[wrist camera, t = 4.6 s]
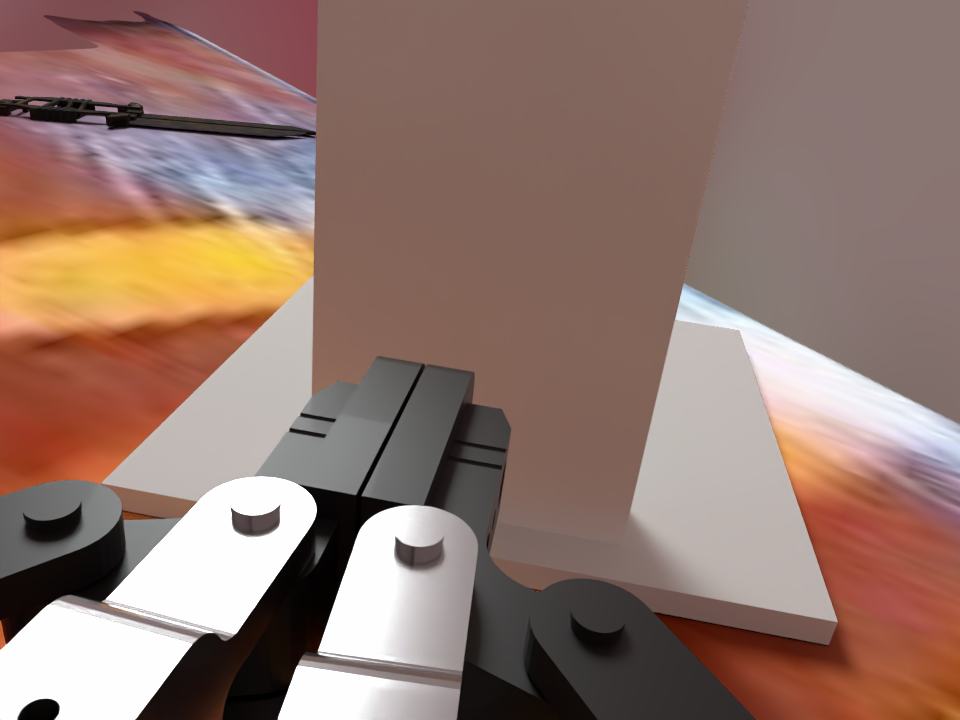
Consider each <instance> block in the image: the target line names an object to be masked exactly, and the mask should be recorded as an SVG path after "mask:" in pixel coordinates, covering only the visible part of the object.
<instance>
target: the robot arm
mask: <svg viewBox="0 0 960 720" xmlns="http://www.w3.org/2000/svg"><path fill="white" fill-rule="evenodd" d="M474 382H475V373H474V372H472V371H466V370H460V369H454V368H448V367H442V366H436V365H430V364H427V365H426V366H425V364H423V363H417V362H412V361H406V360H400V359H394V358H388V357H382V356H377V357H376V359H375V360H374V362H373V363H372V365H371V366H370V368H369V369H368V371H367V373H366V374H365V376H364V377H363V379H362V380H361V382H360V384H354V383H348V382H342V381H337V382H336V383H334V384H332V385H330V386H328V387H326V388H325V389H323V390H321V391H319V392H317V393H316V394H314V395H313V396H312V398H311V399H310V400H309V402H308V403H307V404H306V406H305V407H304V409H303V410H302V411H301V413H300V417H299V416H298V417H297V418H296V420H295V421H294V422H293V424H292V425H291V426H290V428H289V432H286V433H285V435H284V436H283V437H282V439H281V440H280V442H279V443H278V444H277V446H276V447H275V448H274V450H273V451H272V453H271V454H270V455H269V457H268V458H267V459H266V461H265V462H264V463H263V465H262V466H261V468H260V469H259V470H258V472H257V473H256V474H255V476H254V477H251V478H243V479H239V480H234V481H231V482H228V483H225V484H223V485H221V486H218V487H216V488H215V489H213V490H211V491H210V492H208V493H207V494H206V495H205V496H204V497H203V498H202V499H201V500H200V501H199V502H198V503H197V504H196V505H195V506H194V507H193V508H192V509H191V510H190V511H189V512H188V513H187V514H186V516H185V517H184V518H172V519H144V520H123V512H122V505H121V501H120V499H119V497H118V495H117V494H115V493H114V492H113V491H112V490H111V489H109V488H107V487H106V486H103V485H100V484H98V483H93V482H89V481H80V480H64V481H54V482H49V483H44V484H40V485H36V486H32V487H29V488H26V489H23V490H19V491H16V492H13V493H10V494H6V495H3V496H0V620H1V623H2V627H3V632H4V637H5V642H6V646H5V647H4V648H3V649H2V650H1V651H0V720H756V719H755V718H754V717H753V716H752V715H751V714H750V713H749V712H748V711H747V710H746V709H745V708H744V707H743V705H742V704H741V703H740V702H739V701H738V700H737V699H736V698H735V697H734V696H733V695H732V694H731V693H730V692H729V691H728V690H727V689H726V688H725V687H724V686H723V685H722V684H721V683H720V681H719V680H718V679H717V678H716V677H715V676H714V675H713V674H712V673H711V672H710V671H709V670H708V669H707V668H706V667H705V666H704V665H703V664H702V663H701V662H700V661H699V660H698V659H697V657H696V656H695V655H694V654H693V653H692V652H691V651H690V650H689V649H688V648H687V647H686V646H685V645H684V644H683V643H682V642H681V641H680V640H679V639H678V638H677V637H676V636H675V635H674V633H673V632H672V631H671V630H670V629H669V628H668V627H667V626H666V625H665V624H664V623H663V622H662V621H661V620H660V619H659V618H658V617H657V616H656V615H655V614H654V613H653V612H652V611H651V609H650V608H649V607H648V606H647V605H646V604H644V603H643V602H642V601H641V600H640V599H639V598H637V597H636V596H635V595H633V594H632V593H630V592H628V591H626V590H625V589H623V588H621V587H618V586H616V585H613V584H611V583H608V582H604V581H600V580H594V579H584V578H576V579H567V580H563V581H559V582H556V583H554V584H551V585H549V586H548V587H546V588H545V589H543V590H542V591H541V592H540V593H538V592H536V591H534V590H532V589H529V588H527V587H525V586H523V585H521V584H520V583H518V582H516V581H514V580H513V579H511V578H510V577H508V576H507V575H506V574H505V573H504V572H503V571H501V570H500V569H499V568H498V566H497V565H496V564H495V563H494V562H493V560H492V558H491V556H490V555H489V554H490V550H491V546H492V542H493V537H494V533H495V528H496V524H497V519H498V515H499V510H500V503H501V497H502V490H503V483H504V476H505V469H506V462H507V456H508V449H509V442H510V435H511V427H510V425H509V423H508V421H507V419H506V416H505V414H504V412H503V410H502V409H500V408H494V407H488V406H482V405H477V404H472V400H473V392H474Z"/></svg>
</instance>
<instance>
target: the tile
mask: <svg viewBox="0 0 960 720" xmlns="http://www.w3.org/2000/svg"><path fill="white" fill-rule="evenodd" d="M748 4H749V0H318V49H317V50H318V53H317V109H316V168H315V228H314V288H313V347H312V396H313V395H314V394H316V393H317V392H319V391H321V390H323V389H325V388H326V387H328V386H330V385H332V384H334V383H336V382H337V381H342V382H348V383H354V384H360V382H361V380H362V379H363V377H364V376H365V374H366V373H367V371H368V369H369V368H370V366H371V365H372V363H373V362H374V360H375V359H376V357H377V356H382V357H388V358H394V359H400V360H406V361H412V362H417V363H423V364H425V366H426V365H427V364H430V365H436V366H442V367H448V368H454V369H460V370H466V371H472V372H474V373H475V382H474V392H473V400H472V404H477V405H482V406H488V407H494V408H500V409H502V410H503V412H504V414H505V416H506V419H507V421H508V423H509V425H510V427H511V435H510V442H509V449H508V456H507V462H506V469H505V476H504V483H503V490H502V497H501V503H500V510H499V515H498V519H497V522H498V523H503V524H508V525H514V526H519V527H525V528H530V529H536V530H541V531H546V532H552V533H557V534H563V535H568V536H574V537H579V538H584V539H590V540H595V541H601V542H606V543H612V544H617V545H622V544H623V540H624V536H625V532H626V527H627V523H628V519H629V514H630V510H631V506H632V502H633V497H634V493H635V489H636V484H637V480H638V476H639V472H640V467H641V463H642V459H643V454H644V450H645V446H646V442H647V437H648V433H649V429H650V424H651V420H652V416H653V412H654V407H655V403H656V399H657V394H658V390H659V386H660V382H661V377H662V373H663V369H664V364H665V360H666V356H667V352H668V347H669V343H670V339H671V334H672V330H673V326H674V322H675V317H676V313H677V309H678V304H679V300H680V296H681V292H682V287H683V283H684V278H685V274H686V270H687V266H688V262H689V257H690V252H691V249H692V244H693V240H694V236H695V231H696V227H697V222H698V219H699V214H700V210H701V206H702V202H703V197H704V192H705V189H706V184H707V180H708V176H709V172H710V167H711V163H712V159H713V154H714V150H715V146H716V141H717V137H718V133H719V129H720V124H721V120H722V116H723V111H724V107H725V103H726V99H727V94H728V90H729V85H730V81H731V77H732V73H733V69H734V64H735V60H736V56H737V51H738V47H739V43H740V39H741V34H742V30H743V26H744V22H745V17H746V13H747V9H748Z"/></svg>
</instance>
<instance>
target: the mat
mask: <svg viewBox="0 0 960 720" xmlns="http://www.w3.org/2000/svg"><path fill="white" fill-rule="evenodd" d="M313 288H314V275H313V276H312V277H311V278H310V279H309V280H308V281H307V282H306V283H305V284H304V285H303V286H302V287H301V288H300V289H299V290H298V291H297V292H296V293H295V294H294V295H293V296H292V297H291V298H290V299H289V300H288V301H287V302H286V303H285V304H284V305H283V306H281V307H280V308H279V309H278V310H277V311H276V312H275V313H274V314H273V315H272V316H271V317H270V318H269V319H268V320H267V321H266V322H265V323H264V324H263V325H262V326H261V327H260V328H259V329H258V330H257V331H256V332H255V333H254V334H253V335H252V336H251V337H250V338H249V339H248V340H247V341H246V342H245V343H244V344H243V345H242V346H241V347H240V348H239V349H238V350H237V351H236V352H235V353H233V354H232V355H231V356H230V357H229V358H228V359H227V360H226V361H225V362H224V363H223V364H222V365H221V366H220V367H219V368H218V369H217V370H216V371H215V372H214V373H213V374H212V375H211V376H210V377H209V378H208V379H207V380H206V381H205V382H204V383H203V384H202V385H201V386H200V387H199V388H198V389H197V390H196V391H195V392H194V393H193V394H192V395H191V396H190V397H189V398H188V399H187V400H185V401H184V402H183V403H182V404H181V405H180V406H179V407H178V408H177V409H176V410H175V411H174V412H173V413H172V414H171V415H170V416H169V417H168V418H167V419H166V420H165V421H164V422H163V423H162V424H161V425H160V426H159V427H158V428H157V429H156V430H155V431H154V432H153V433H152V434H151V435H150V436H149V437H148V438H147V439H146V440H145V441H144V442H143V443H142V444H141V445H140V446H139V447H137V448H136V449H135V450H134V451H133V452H132V453H131V454H130V455H129V456H128V457H127V458H126V459H125V460H124V461H123V462H122V463H121V464H120V465H119V466H118V467H117V468H116V469H115V470H114V471H113V472H112V473H111V474H110V475H109V476H108V477H107V478H106V479H105V480H104V481H103V482H102V483H101V485H103V486H106V487H107V488H109V489H111V490H112V491H113V492H114V493H115V494H117V495H118V497H119V499H120V501H121V505H122V510H124V511H129V512H134V513H140V514H145V515H150V516H155V517H160V518H166V519H172V518H184V517H185V516H186V514H187V513H188V512H189V511H190V510H191V509H192V508H193V507H194V506H195V505H196V504H197V503H198V502H199V501H200V500H201V499H202V498H203V497H204V496H205V495H206V494H207V493H208V492H210V491H211V490H213V489H215V488H216V487H218V486H221V485H223V484H225V483H228V482H231V481H234V480H239V479H243V478H251V477H254V476H255V474H256V473H257V472H258V470H259V469H260V468H261V466H262V465H263V463H264V462H265V461H266V459H267V458H268V457H269V455H270V454H271V453H272V451H273V450H274V448H275V447H276V446H277V444H278V443H279V442H280V440H281V439H282V437H283V436H284V435H285V433H286V432H289V428H290V426H291V425H292V424H293V422H294V421H295V420H296V418H297V417H298V416H299V417H300V413H301V411H302V410H303V409H304V407H305V406H306V404H307V403H308V402H309V400H310V399H311V398H312V347H313ZM489 555H490V556H491V558H492V560H493V562H494V563H495V564H496V565H497V566H498V568H499V569H500V570H501V571H503V572H504V573H505V574H506V575H507V576H508V577H510V578H511V579H513V580H514V581H516V582H518V583H520V584H521V585H523V586H525V587H527V588H532V589H537V590H543V589H545V588H546V587H548V586H549V585H551V584H554V583H556V582H559V581H563V580H567V579H576V578H584V579H594V580H600V581H604V582H608V583H611V584H613V585H616V586H618V587H621V588H623V589H625V590H626V591H628V592H630V593H632V594H633V595H635V596H636V597H637V598H639V599H640V600H641V601H642V602H643V603H644V604H646V605H647V606H648V607H649V608H650V609H651V611H652V612H657V613H662V614H668V615H673V616H678V617H683V618H689V619H694V620H699V621H704V622H710V623H715V624H720V625H725V626H730V627H736V628H741V629H746V630H751V631H757V632H762V633H767V634H772V635H778V636H783V637H788V638H793V639H798V640H804V641H809V642H814V643H819V644H825V645H829V643H830V640H831V638H832V635H833V633H834V630H835V628H836V626H837V623H838V621H837V618H836V615H835V612H834V609H833V606H832V603H831V600H830V597H829V594H828V592H827V589H826V586H825V583H824V580H823V577H822V574H821V571H820V568H819V565H818V562H817V559H816V556H815V553H814V550H813V547H812V544H811V541H810V538H809V535H808V532H807V529H806V526H805V523H804V521H803V518H802V515H801V512H800V509H799V506H798V503H797V500H796V497H795V494H794V491H793V488H792V485H791V482H790V479H789V476H788V473H787V470H786V467H785V464H784V461H783V458H782V455H781V452H780V449H779V447H778V444H777V441H776V438H775V435H774V432H773V429H772V426H771V423H770V420H769V417H768V414H767V411H766V408H765V405H764V402H763V399H762V396H761V393H760V390H759V387H758V384H757V381H756V378H755V375H754V373H753V370H752V367H751V364H750V361H749V358H748V355H747V352H746V349H745V346H744V343H743V340H742V337H741V334H740V331H739V330H734V329H727V328H721V327H715V326H708V325H702V324H696V323H689V322H683V321H677V320H675V322H674V326H673V330H672V334H671V339H670V343H669V347H668V352H667V356H666V360H665V364H664V369H663V373H662V377H661V382H660V386H659V390H658V394H657V399H656V403H655V407H654V412H653V416H652V420H651V424H650V429H649V433H648V437H647V442H646V446H645V450H644V454H643V459H642V463H641V467H640V472H639V476H638V480H637V484H636V489H635V493H634V497H633V502H632V506H631V510H630V514H629V519H628V523H627V527H626V532H625V536H624V540H623V544H622V545H617V544H612V543H606V542H601V541H595V540H590V539H584V538H579V537H574V536H568V535H563V534H557V533H552V532H546V531H541V530H536V529H530V528H525V527H519V526H514V525H508V524H503V523H498V522H497V524H496V528H495V533H494V537H493V542H492V546H491V550H490V554H489Z"/></svg>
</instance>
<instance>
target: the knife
mask: <svg viewBox="0 0 960 720" xmlns="http://www.w3.org/2000/svg"><path fill="white" fill-rule="evenodd" d="M15 99H23V100H7V99H3V100H0V115H2V116H8V115H10V114H11V111H14V110H16V109H19V108H22V109H23V112H29V111H28V109H29V110H30V117H31V119H34V120H45V121H54V122H67V123H76V119H79V118H81V117H82V116H85V115H86V114H90V115H106V124H108V126H110V127H109V128H108V129H114V128H115V127H130V126H131V125H133V126H135V125H141V126H153V127H165V128H177V129H188V130H200V131H212V132H224V133H236V134H248V135H260V136H271V137H277V136H296V135H303V134H306V135H316V132H314V131H310V130H306V129H302V128H298V127H293V126H282V125H270V124H259V123H247V122H235V121H224V120H212V119H201V118H189V117H177V116H166V115H154V114H144V112H143V106H142V105H140V104H137V103H133V102H132V103H130V104H128V106H127V105H117V104H112V103H104V102H94V101H92V100H85V99H80V100H78V99H76V98H75V99H71V98H66V99H65V98H64V97H61V98H54V97H24V96H15ZM33 100H35V101H46V102H49V103H47V104H45V105H43V106H36V105H28V102H31V101H33ZM55 105H57V107H54V106H55ZM95 106H104V107H115V108H118V112H106V111H95Z"/></svg>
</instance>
